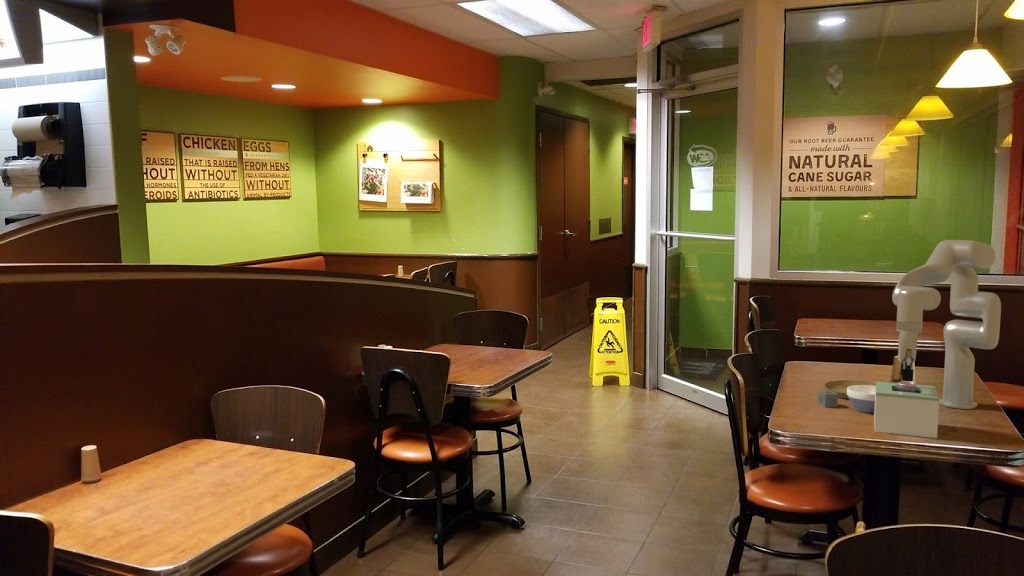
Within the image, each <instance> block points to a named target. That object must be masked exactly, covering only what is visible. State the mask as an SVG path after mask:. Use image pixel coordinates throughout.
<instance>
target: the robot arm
mask: <svg viewBox="0 0 1024 576" xmlns="http://www.w3.org/2000/svg"><path fill="white" fill-rule="evenodd" d="M995 260H996V251H995V249H994V247H993V246H992V245H990V244H988V243H984V242H982V241H977V240H972V239H971V240H970V239H944V240H941V241H939V242H938V244H937V245H936V247H935V248H934V249H933V251H932V252H931V254H930V256H929V257H928V259H927V261H926V262H925V264H923V265H921V266H919V267H917V268H914V269H912V270H910V271H908V272H907V273H906V274H904V275H903V276H901V278H900V279H899V280H898V282H897V284H896V285H895V287H894V289H893V291H892V297H891V299H892V303H893V304H894V305H895V306H896V307H897V309H896V310H897V311H896V327H895V331H897V332H899V334H898V349H897V350H898V351H897V360H898V361H899V362H901V363H900V366H901V367H900V375H901V382H912V383H913V381H914V363H915V362H916V357H917V352H918V351H917V347H918V336H919V335H918V334H920V333H922V332H923V318H924V315H923V314H924V311H932V310H935V309H937V308H938V307H939V305H940V304H941V300H942V297H941V293H940V291H939V290H938V289H935V288H934V287H929V286H932V285H937V284H940V283H941V284H942V283H943V282H945V281H947V280H948V279H949V278H950V297H949V309H950V313H951V314H953V315H954V316H959V317H965V318H966V317H967V318H975V319H982V321H975V320H965V319H952V320H949V321H947V322H946V323H945V325H944V326H943V339H944V353H945V354H944V370H943V391H942V398H939V406H940V405H941V406H943V407H946V408H947V407H948V408H953V409H959V410H961V409H963V410H973V409H976V408H978V403H977V402H975V401H973V398H974V378H975V364H976V362H975V361H976V359H975V356H974V354H973V352H972V351H971V349H970V348H974V349H982V350H994V349H995V348H996V347H997V346H998V343H999V339H1000V333H1001V332H1000V331H1001V330H1000V329H1001V316H1002V315H1001V313H1002V303H1001V299H1000V297H999V296H998V294H996V293H994V292H988V291H979V277H978V273H977V272H976V270H975V269H981V270H984V269H986V270H987V269H990V268H991V267H992V266H993V265H994V263H995ZM927 286H928V287H927Z"/></svg>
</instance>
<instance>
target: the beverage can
mask: <svg viewBox="0 0 1024 576" xmlns="http://www.w3.org/2000/svg"><path fill="white" fill-rule="evenodd" d="M896 383H897V385H896V391H900V392H911V393H916V389H917V387H916V385H917V384H916V383H915V382H913V381H912V382H911V381H897V382H896Z"/></svg>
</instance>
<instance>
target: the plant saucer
mask: <svg viewBox="0 0 1024 576" xmlns="http://www.w3.org/2000/svg"><path fill="white" fill-rule="evenodd" d="M853 385H868V386H876V382H870V381H865V380H852V379H851V380H848V379H845V380H843V379H841V380H839V379H838V380H831V381H828V382H825V383H824V384H823V387H824V390H825V391H833V392H835V393H838V399H844V400H849V398H848V396H847V387H849V386H853Z"/></svg>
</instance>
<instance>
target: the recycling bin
mask: <svg viewBox="0 0 1024 576" xmlns="http://www.w3.org/2000/svg"><path fill="white" fill-rule="evenodd" d="M875 383H876V388H875V410H874V413H873V424H874V425H873V426H874V427H873V428H874V431H873V432H875V433H884V434H891V433H892V434H893V435H900V436H901V435H902V436H911V437H919V436H920V438H921V437H922V438H930V439H938V431H939V430H938V427H939V411H940V410H939V409H940V408H939V407H940V404H939V399H940V397H939V396H940V395H939V393H938V390H937V388H936V386H935V385H924V384H916V387H917V389H916V393H911V392H900V391H896V385H897V382H887V381H886V382H885V381H878V380H876V381H875Z"/></svg>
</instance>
